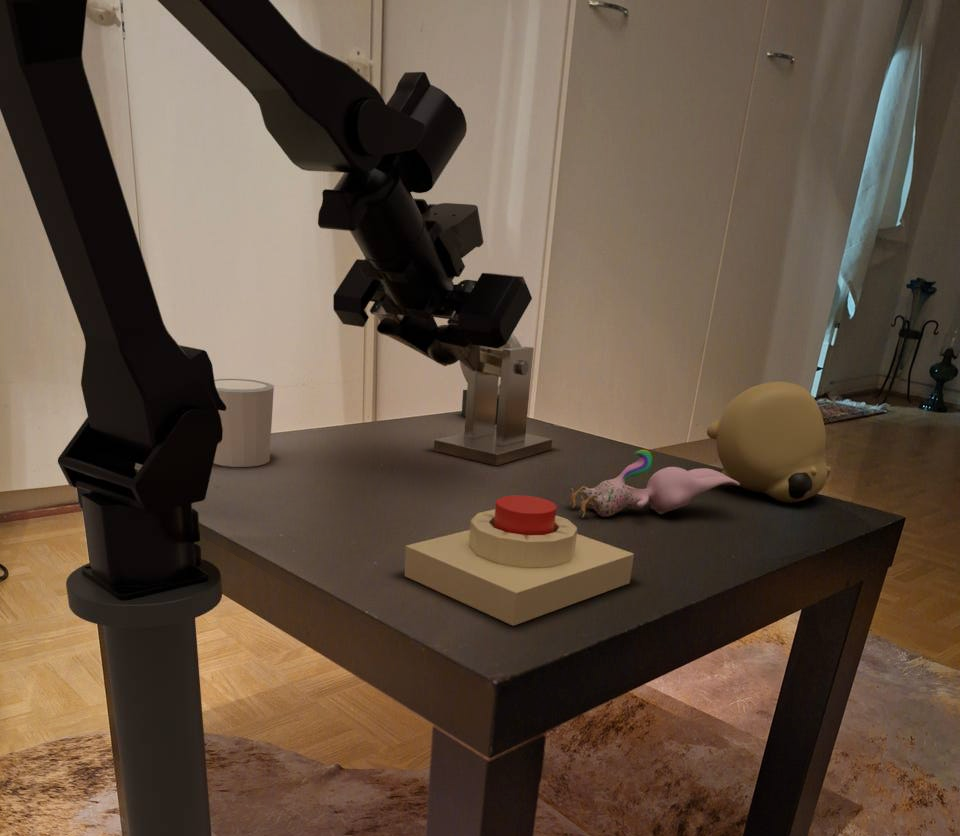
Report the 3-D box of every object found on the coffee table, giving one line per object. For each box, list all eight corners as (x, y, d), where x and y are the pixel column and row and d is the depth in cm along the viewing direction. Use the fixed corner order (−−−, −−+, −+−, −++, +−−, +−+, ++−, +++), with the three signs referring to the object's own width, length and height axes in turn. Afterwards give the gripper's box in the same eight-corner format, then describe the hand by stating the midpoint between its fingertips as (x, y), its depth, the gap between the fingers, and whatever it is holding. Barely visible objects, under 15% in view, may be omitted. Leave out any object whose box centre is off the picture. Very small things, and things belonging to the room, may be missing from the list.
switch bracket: (496, 465, 88) (505, 354, 83) (433, 450, 91) (438, 343, 87) (551, 449, 96) (562, 347, 91) (491, 436, 100) (499, 338, 95)
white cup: (186, 461, 81) (180, 383, 78) (231, 447, 87) (228, 375, 84) (248, 472, 79) (244, 393, 76) (290, 457, 84) (289, 384, 81)
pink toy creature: (589, 539, 72) (752, 510, 75) (587, 470, 70) (756, 442, 72) (564, 516, 78) (717, 490, 80) (561, 451, 75) (720, 426, 78)
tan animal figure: (736, 536, 84) (834, 483, 76) (677, 428, 84) (768, 364, 77) (778, 514, 91) (872, 464, 83) (723, 414, 91) (812, 355, 83)
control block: (513, 626, 52) (519, 564, 50) (404, 576, 58) (406, 519, 57) (630, 583, 60) (638, 528, 58) (523, 543, 66) (528, 492, 65)
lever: (446, 363, 79) (454, 323, 79) (415, 358, 81) (423, 318, 80) (518, 386, 91) (525, 350, 90) (489, 381, 92) (496, 346, 91)
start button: (526, 543, 55) (528, 516, 54) (481, 526, 58) (483, 500, 57) (566, 532, 58) (569, 506, 57) (521, 516, 60) (524, 491, 59)
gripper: (531, 167, 69) (581, 311, 82) (355, 160, 78) (425, 292, 91) (467, 273, 66) (529, 405, 79) (292, 254, 75) (373, 375, 88)
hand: (461, 364), depth 84 cm, fingers closed on lever, 3 cm apart
